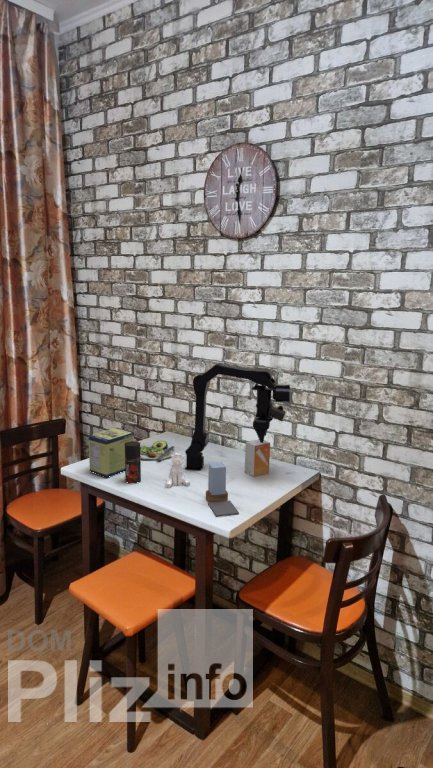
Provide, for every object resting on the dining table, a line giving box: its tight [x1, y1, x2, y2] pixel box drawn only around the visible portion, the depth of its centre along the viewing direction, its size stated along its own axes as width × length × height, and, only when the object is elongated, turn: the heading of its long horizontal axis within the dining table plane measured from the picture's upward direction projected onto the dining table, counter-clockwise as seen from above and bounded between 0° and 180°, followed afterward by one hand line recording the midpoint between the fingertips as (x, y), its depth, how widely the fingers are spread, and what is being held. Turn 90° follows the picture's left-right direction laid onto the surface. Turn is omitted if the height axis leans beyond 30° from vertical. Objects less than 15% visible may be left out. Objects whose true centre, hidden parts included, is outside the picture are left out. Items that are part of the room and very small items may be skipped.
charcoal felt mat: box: [207, 500, 240, 518], centre depth 179 cm, size 10×8×1 cm
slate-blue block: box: [207, 461, 227, 495], centre depth 185 cm, size 5×5×10 cm
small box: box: [244, 438, 271, 477], centre depth 212 cm, size 8×6×13 cm
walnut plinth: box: [205, 489, 229, 504], centre depth 186 cm, size 4×7×3 cm, turn 106°
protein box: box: [88, 427, 135, 478], centre depth 212 cm, size 10×16×16 cm
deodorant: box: [124, 440, 142, 484], centre depth 201 cm, size 6×6×15 cm
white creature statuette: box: [164, 452, 191, 489], centre depth 200 cm, size 10×9×12 cm
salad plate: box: [140, 440, 175, 462], centre depth 232 cm, size 19×18×5 cm
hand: (263, 439), depth 209 cm, fingers open, 9 cm apart
